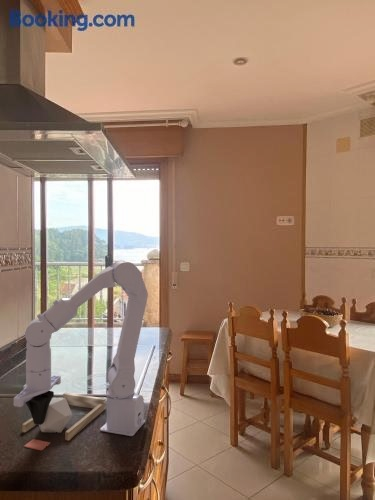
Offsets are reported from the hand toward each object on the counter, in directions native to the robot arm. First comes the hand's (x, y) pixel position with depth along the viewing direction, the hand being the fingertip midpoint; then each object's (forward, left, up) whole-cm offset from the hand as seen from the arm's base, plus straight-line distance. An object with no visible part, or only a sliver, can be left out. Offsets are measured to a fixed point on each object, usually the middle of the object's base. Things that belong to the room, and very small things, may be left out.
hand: (39, 423), depth 88 cm
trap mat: (-1, +2, -4) cm, 5 cm away
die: (0, -6, -5) cm, 7 cm away
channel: (0, -11, -4) cm, 11 cm away
